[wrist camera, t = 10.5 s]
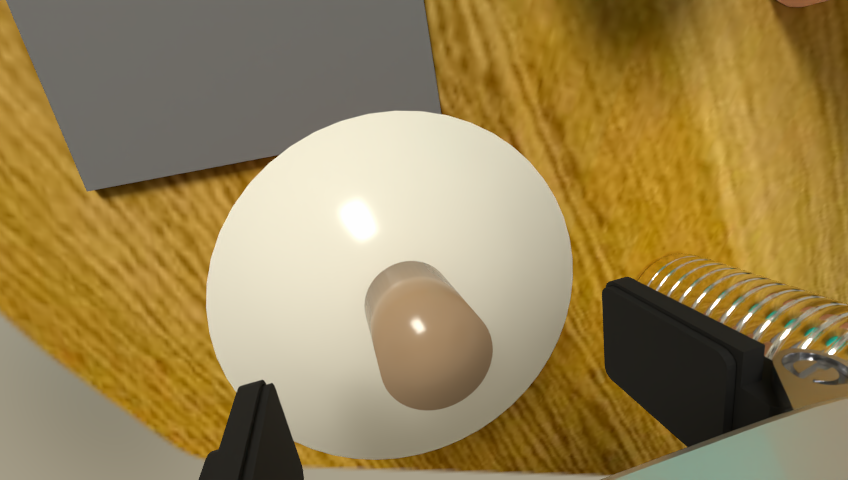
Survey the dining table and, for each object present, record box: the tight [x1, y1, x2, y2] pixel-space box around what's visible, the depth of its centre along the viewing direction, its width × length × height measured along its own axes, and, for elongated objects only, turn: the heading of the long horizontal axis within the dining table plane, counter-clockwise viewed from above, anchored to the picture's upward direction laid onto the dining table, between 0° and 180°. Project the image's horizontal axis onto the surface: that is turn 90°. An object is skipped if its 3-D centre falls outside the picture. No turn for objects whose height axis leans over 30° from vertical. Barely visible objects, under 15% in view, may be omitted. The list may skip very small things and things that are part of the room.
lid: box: [206, 111, 573, 460], centre depth 15 cm, size 15×15×5 cm
